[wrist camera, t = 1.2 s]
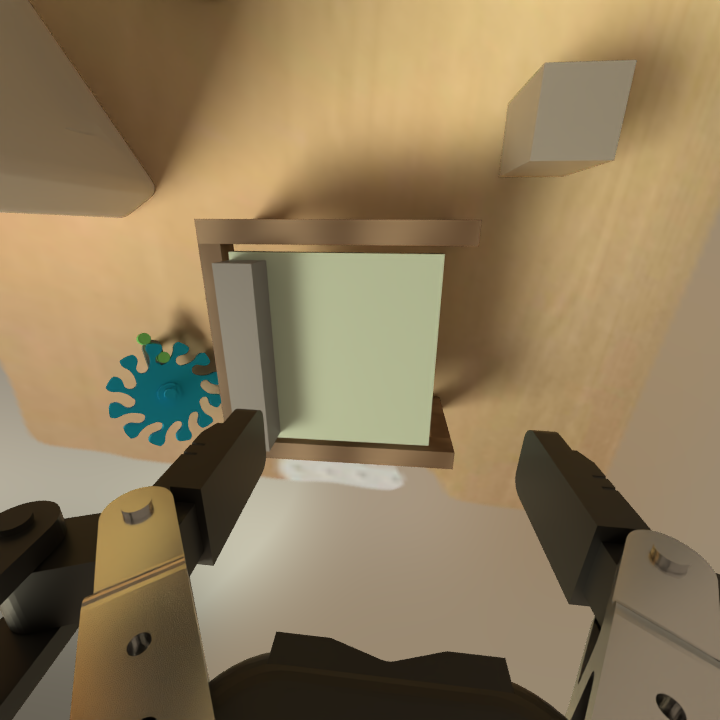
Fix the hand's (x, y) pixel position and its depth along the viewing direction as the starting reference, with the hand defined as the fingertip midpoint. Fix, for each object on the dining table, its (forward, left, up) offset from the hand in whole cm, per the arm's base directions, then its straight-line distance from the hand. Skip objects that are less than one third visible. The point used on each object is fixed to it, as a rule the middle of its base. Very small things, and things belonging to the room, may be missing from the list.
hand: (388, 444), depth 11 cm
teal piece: (+8, -21, -24) cm, 33 cm away
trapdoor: (+2, -4, -15) cm, 16 cm away
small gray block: (-13, +11, -20) cm, 26 cm away
